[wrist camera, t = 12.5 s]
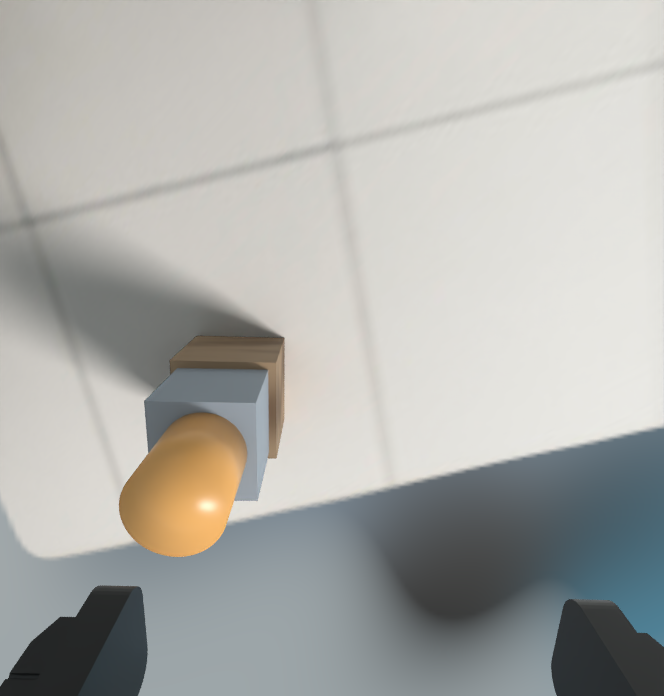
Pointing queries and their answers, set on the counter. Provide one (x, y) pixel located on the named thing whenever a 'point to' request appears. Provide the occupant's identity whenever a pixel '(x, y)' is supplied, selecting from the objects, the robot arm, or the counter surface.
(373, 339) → the counter surface
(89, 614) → the robot arm
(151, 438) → the grey top cube
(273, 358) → the walnut base cube
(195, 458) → the orange rounded cylinder
